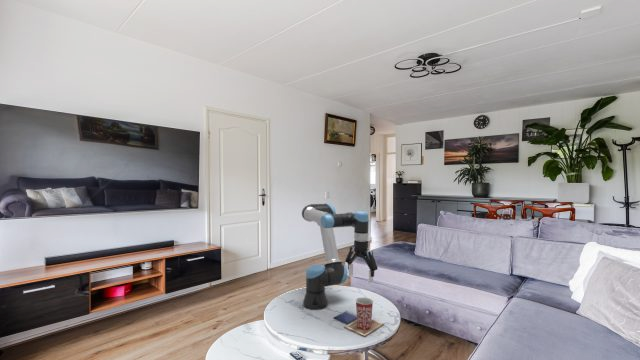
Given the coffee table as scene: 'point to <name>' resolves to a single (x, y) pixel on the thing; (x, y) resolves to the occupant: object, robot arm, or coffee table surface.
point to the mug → (364, 312)
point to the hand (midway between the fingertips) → (360, 279)
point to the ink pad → (345, 318)
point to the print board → (364, 333)
